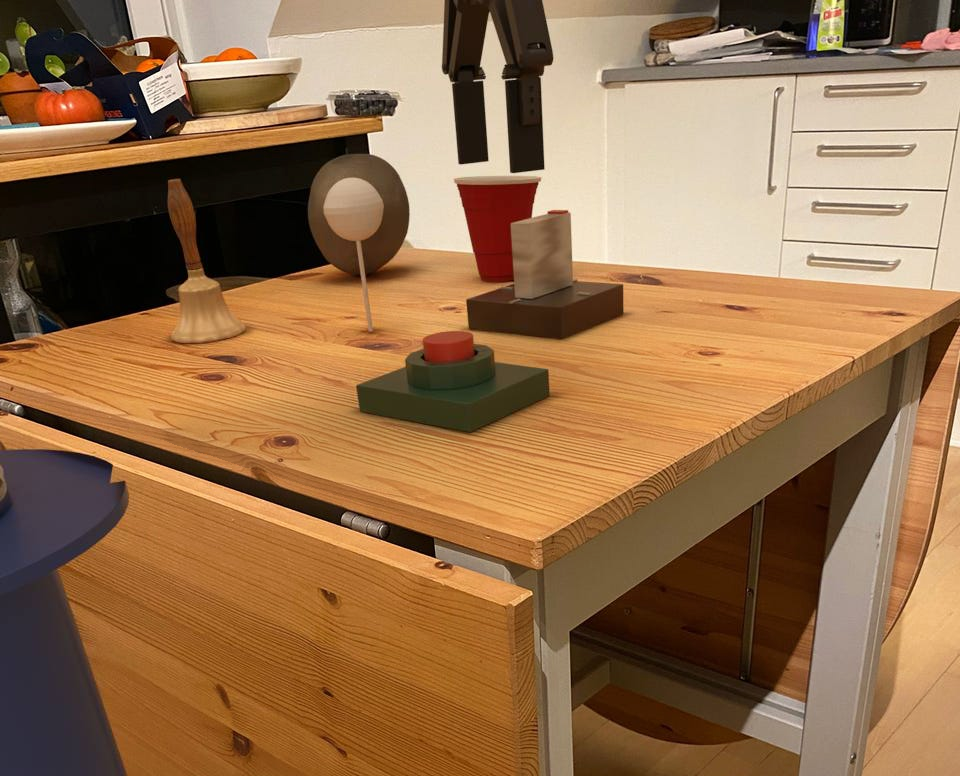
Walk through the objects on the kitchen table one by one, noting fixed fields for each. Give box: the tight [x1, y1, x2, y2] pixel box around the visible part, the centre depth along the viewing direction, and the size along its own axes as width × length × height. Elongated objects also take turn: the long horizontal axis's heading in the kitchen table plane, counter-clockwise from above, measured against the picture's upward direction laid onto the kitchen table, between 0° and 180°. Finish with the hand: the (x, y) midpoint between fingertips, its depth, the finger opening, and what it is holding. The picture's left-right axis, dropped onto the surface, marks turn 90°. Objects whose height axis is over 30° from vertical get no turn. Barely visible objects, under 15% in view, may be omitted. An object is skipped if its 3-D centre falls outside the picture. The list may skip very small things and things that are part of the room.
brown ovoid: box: [307, 153, 411, 276], centre depth 131 cm, size 14×14×15 cm
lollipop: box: [324, 178, 384, 333], centre depth 101 cm, size 6×6×15 cm
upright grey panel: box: [511, 209, 574, 299], centre depth 99 cm, size 7×2×7 cm, turn 140°
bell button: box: [422, 330, 475, 363], centre depth 78 cm, size 4×4×2 cm
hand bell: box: [167, 178, 247, 344], centre depth 107 cm, size 8×8×16 cm
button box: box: [355, 343, 551, 433], centre depth 79 cm, size 12×10×4 cm
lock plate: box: [465, 278, 625, 340], centre depth 101 cm, size 12×11×3 cm
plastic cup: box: [453, 175, 543, 283], centre depth 122 cm, size 11×11×12 cm
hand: (498, 167), depth 85 cm, fingers open, 13 cm apart
